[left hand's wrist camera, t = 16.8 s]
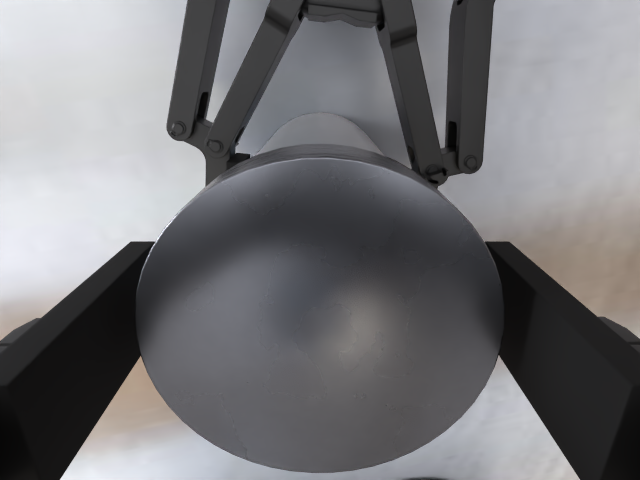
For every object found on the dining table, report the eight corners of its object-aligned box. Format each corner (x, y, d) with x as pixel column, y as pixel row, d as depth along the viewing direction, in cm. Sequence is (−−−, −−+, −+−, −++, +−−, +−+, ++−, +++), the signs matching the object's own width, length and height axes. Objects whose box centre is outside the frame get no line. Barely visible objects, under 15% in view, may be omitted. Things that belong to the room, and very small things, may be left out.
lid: (405, 447, 14) (418, 502, 12) (140, 381, 13) (111, 431, 11) (534, 204, 11) (577, 229, 9) (197, 93, 10) (170, 96, 8)
